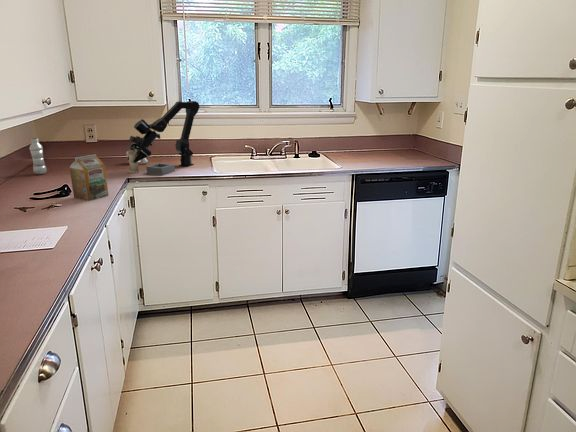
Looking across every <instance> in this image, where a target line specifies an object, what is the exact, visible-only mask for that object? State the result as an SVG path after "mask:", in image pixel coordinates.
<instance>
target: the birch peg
mask: <svg viewBox="0 0 576 432" xmlns="http://www.w3.org/2000/svg"><path fill="white" fill-rule="evenodd" d="M128 154H129V161H128V164H129V171H130V172H131V173H130V174H138V173H139V164H138V163H139V162H136V163H134V162H133V161H134V159H135V158H136V156H137V152H136V150H130V149H129V150H128ZM137 172H138V173H137Z"/></svg>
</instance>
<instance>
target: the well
mask: <svg viewBox="0 0 576 432" xmlns="http://www.w3.org/2000/svg"><path fill="white" fill-rule="evenodd" d="M175 167H176V166H175V164H172V163H164V162H163V163H162V162H161V163H160V162H157V163H154V164H150V165H147V166H146V174H147V173H148V175H157V176H158V175H159V176H164V175H165V176H166V175H169V174H170V173H175V172H176V169H175Z"/></svg>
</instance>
